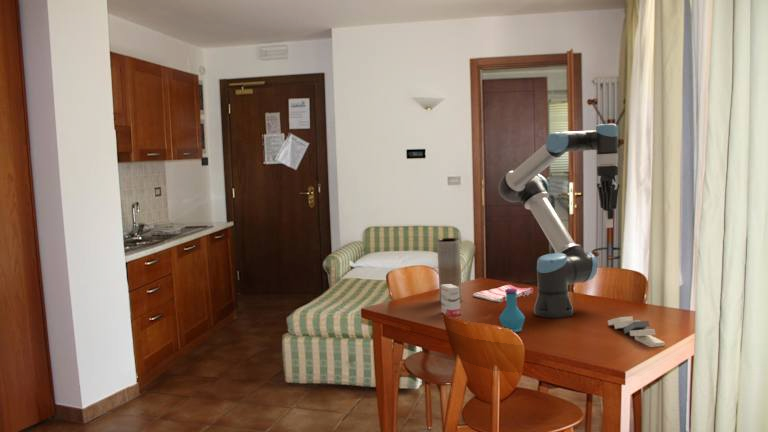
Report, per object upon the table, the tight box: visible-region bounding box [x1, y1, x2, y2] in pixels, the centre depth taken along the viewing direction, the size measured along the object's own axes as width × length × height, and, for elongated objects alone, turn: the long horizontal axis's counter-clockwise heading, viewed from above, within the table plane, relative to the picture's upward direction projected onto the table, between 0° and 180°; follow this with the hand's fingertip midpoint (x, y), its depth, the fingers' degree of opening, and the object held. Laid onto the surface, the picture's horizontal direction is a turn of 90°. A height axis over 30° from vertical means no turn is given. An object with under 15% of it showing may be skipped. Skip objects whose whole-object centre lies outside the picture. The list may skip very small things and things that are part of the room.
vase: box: [436, 237, 463, 303], centre depth 287 cm, size 10×10×28 cm
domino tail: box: [634, 335, 666, 348], centre depth 215 cm, size 2×5×10 cm
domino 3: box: [629, 328, 656, 337], centre depth 216 cm, size 2×5×10 cm
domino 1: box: [613, 319, 641, 330], centre depth 228 cm, size 2×5×10 cm
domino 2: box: [623, 320, 650, 335], centre depth 222 cm, size 2×5×10 cm
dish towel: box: [472, 284, 534, 303], centre depth 295 cm, size 17×23×4 cm
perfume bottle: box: [498, 288, 526, 333], centre depth 238 cm, size 9×9×15 cm
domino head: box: [607, 315, 634, 326], centre depth 233 cm, size 2×5×10 cm
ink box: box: [440, 284, 462, 317], centre depth 266 cm, size 8×5×12 cm, turn 20°
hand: (608, 227), depth 247 cm, fingers closed
